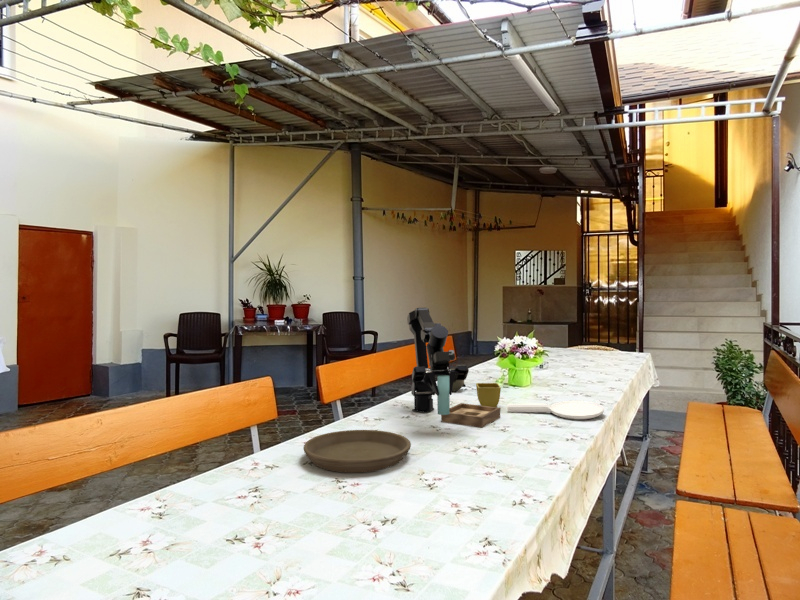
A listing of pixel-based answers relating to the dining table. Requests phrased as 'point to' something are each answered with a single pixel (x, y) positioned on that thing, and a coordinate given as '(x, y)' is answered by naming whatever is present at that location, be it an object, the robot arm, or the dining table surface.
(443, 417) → the bore box
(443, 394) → the peg
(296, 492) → the dining table surface
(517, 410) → the white piece
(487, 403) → the flower pot
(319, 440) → the plant saucer
